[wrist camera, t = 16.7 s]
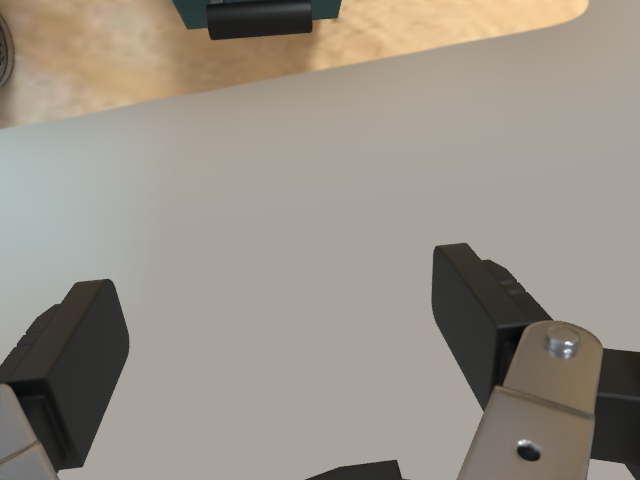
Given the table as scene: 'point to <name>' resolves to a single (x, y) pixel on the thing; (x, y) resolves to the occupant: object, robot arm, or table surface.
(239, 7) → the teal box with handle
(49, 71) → the table surface
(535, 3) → the table surface
